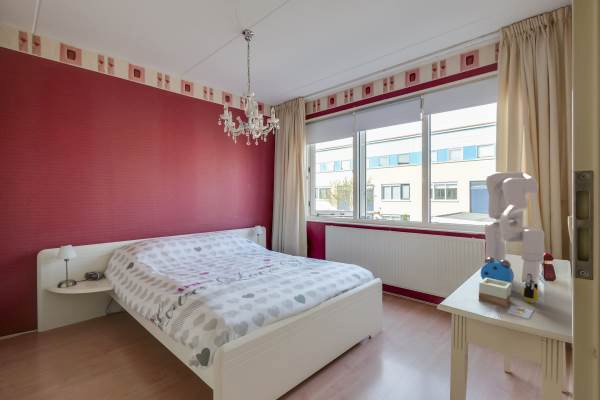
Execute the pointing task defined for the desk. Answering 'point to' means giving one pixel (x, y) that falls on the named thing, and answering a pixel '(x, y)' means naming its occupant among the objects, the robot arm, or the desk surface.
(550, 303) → the desk surface
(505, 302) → the base brick
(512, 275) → the alarm clock
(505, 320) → the desk surface
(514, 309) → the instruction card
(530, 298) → the lemon
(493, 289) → the top brick
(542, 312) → the desk surface
